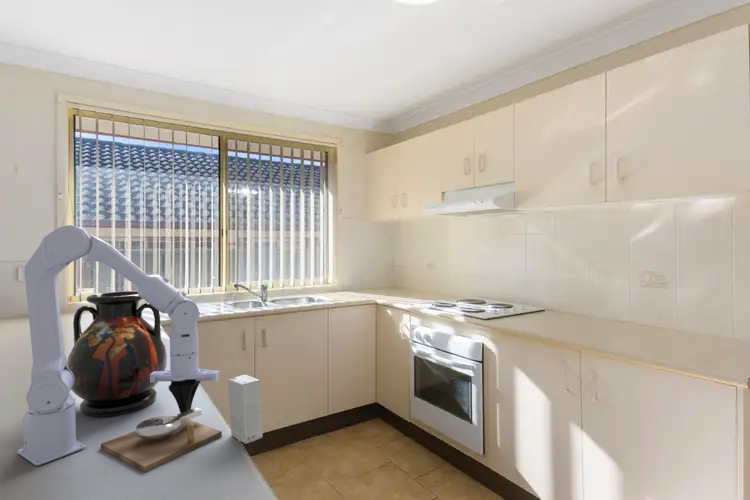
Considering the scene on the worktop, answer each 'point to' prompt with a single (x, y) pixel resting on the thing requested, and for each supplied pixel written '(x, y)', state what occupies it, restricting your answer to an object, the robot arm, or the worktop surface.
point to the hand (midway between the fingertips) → (185, 413)
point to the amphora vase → (116, 355)
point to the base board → (160, 445)
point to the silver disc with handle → (164, 424)
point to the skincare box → (245, 408)
